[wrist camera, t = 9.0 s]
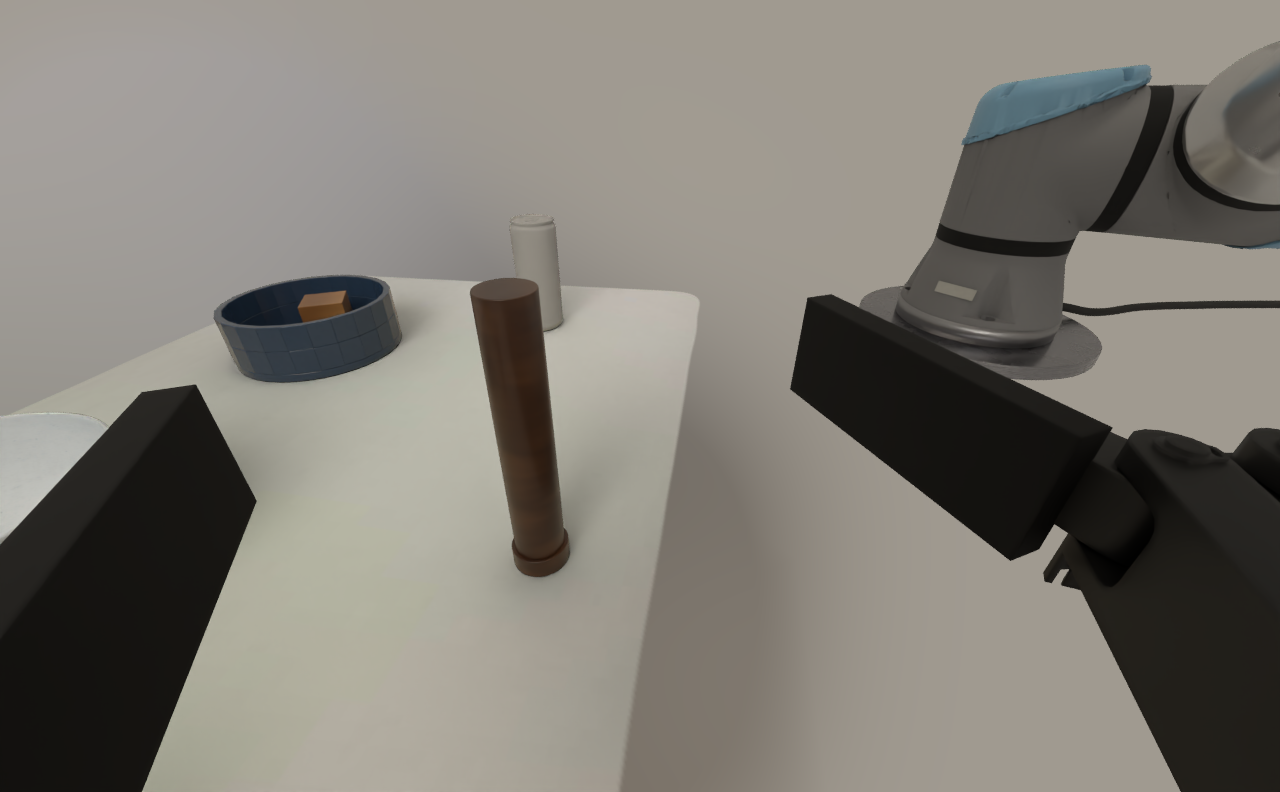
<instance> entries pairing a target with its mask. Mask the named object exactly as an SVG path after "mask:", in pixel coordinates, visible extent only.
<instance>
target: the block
mask: <svg viewBox="0 0 1280 792" xmlns="http://www.w3.org/2000/svg"><path fill="white" fill-rule="evenodd" d="M298 310H299V313H300V316H301V318H302V321H303V323H305V322H310V321H315V320H320V319H325V318H330V317H333V316H337V315H340V314H344V313H347V312H350V311H353V310H352V307H351V304H350V301H349V298H348V295H347V291H337V292H328V293H318V294H308V295H304V297H303V299H302V301H301V302H300V304H299V306H298Z"/></svg>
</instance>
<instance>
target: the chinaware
mask: <svg viewBox="0 0 1280 792" xmlns="http://www.w3.org/2000/svg"><path fill="white" fill-rule="evenodd" d="M108 428H109V426H108V425H106V424H105V423H104V422H102V421H101V420H99V419H96V418H94V417H91V416H87V415H82V414H76V413H66V412H36V413H23V414H13V415H5V416H0V544H1V543H2V542H3V541H4V540H5V539H6V538H7V537H8V536H9V535H10V533H11V532H12V531H13V530H14V529H15V528H16V527H17V526H18V525H19V524H20V523H21V522H22V521H23V519H24V518H25V517H26V516H27V515H28V514H29V513H30V512H31V511H32V510H33V509H34V508H35V507H36V506H37V504H38V503H39V502H40V501H41V500H42V499H43V498H44V497H45V496H46V495H47V494H48V493H49V492H50V490H51V489H52V488H53V487H54V486H55V485H56V484H57V483H58V482H59V481H60V480H61V479H62V478H63V477H64V475H65V474H66V473H67V472H68V471H69V470H70V469H71V468H72V467H73V466H74V465H75V464H76V463H77V461H78V460H79V459H80V458H81V457H82V456H83V455H84V454H85V453H86V452H87V451H88V450H89V449H90V447H91V446H92V445H93V444H94V443H95V442H96V441H97V440H98V439H99V438H100V437H101V436H102V435H103V434H104V432H105V431H106V430H107V429H108Z"/></svg>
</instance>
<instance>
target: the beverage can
mask: <svg viewBox="0 0 1280 792" xmlns="http://www.w3.org/2000/svg"><path fill="white" fill-rule="evenodd" d="M553 220H554V219H553V217H552V216H548V215H539V214H529V215H520V216H515V217H513V218H511V219H510V222H511V225H510V235H511V243H512V250H513V257H514V264H515V271H516V278H521V279H527V280H531V281H533V282H535V283H537V285H538V287H539V296H540V305H541V315H542V324H543V331H547V330H551V329H554V328H556V327H558V326H559V325H560V324H561V322H562V320H563V314H562V302H561V289H560V277H559V265H558V252H557V239H556V227H555V224H554V223H553Z"/></svg>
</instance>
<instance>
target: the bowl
mask: <svg viewBox="0 0 1280 792" xmlns="http://www.w3.org/2000/svg"><path fill="white" fill-rule="evenodd" d="M337 291H347V295H348V298H349V301H350V304H351V307H352V310H353V311H350V312H347V313H344V314H340V315H337V316H333V317H330V318H325V319H320V320H315V321H310V322H305V323H303V321H302V318H301V316H300V313H299V310H298V306H299V304H300V302H301V301H302V299H303V297H304V295H308V294H318V293H328V292H337ZM214 320H215V322H216V324H217V326H218V328H219V330H220V333H221V335H222V337H223V339H224V341H225V343H226V345H227V347H228V349H229V352H230V354H231V356H232V358H233V360H234V362H235V363H236V365H237V367H238V369H239V370H240V372H241V373H242V374H244V375H245V376H247V377H250V378H252V379H256V380H260V381H268V382H297V381H306V380H314V379H320V378H325V377H330V376H334V375H338V374H342V373H345V372H349V371H352V370H355V369H358V368H360V367H363V366H366V365H368V364H370V363H372V362H375V361H377V360H378V359H380V358H382V357H384V356H385V355H387V354H388V353H390V352H391V351H392V350H393V349H395V348H396V347H397V345H398V344H399V342H400V341H401V337H402V335H401V330H400V324H399V320H398V317H397V313H396V309H395V305H394V302H393V298H392V294H391V290H390V287H389V286H388V284H387V283H386V282H384V281H382V280H379V279H377V278H373V277H367V276H358V275H329V276H317V277H307V278H301V279H295V280H289V281H284V282H279V283H275V284H271V285H266V286H263V287H260V288H257V289H253V290H250V291H247V292H244V293H242V294H239V295H237V296H235V297H232V298H231V299H229V300H227V301H226V302H224V303H222V304H221V305H220V306H219V307H218V308H217V309H216V310H215V311H214Z"/></svg>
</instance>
